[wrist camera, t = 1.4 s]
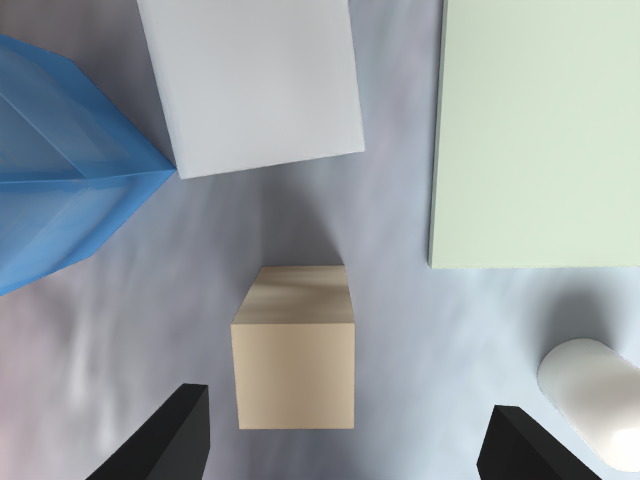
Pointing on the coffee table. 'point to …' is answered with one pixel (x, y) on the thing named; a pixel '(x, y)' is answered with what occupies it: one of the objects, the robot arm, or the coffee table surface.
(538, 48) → the sage mat
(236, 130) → the external hard drive
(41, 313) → the coffee table surface
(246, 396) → the birch block
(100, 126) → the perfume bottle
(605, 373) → the ceramic cylinder
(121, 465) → the robot arm
